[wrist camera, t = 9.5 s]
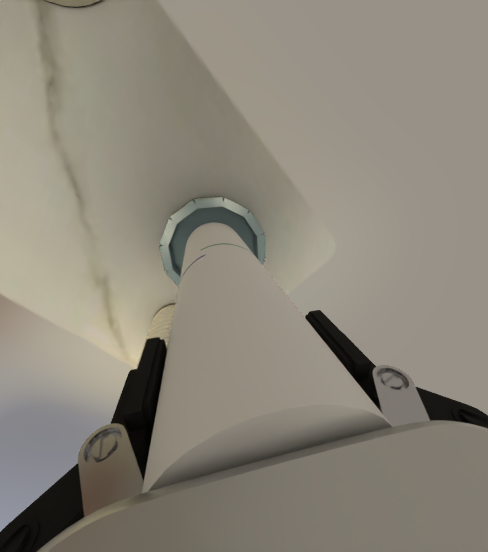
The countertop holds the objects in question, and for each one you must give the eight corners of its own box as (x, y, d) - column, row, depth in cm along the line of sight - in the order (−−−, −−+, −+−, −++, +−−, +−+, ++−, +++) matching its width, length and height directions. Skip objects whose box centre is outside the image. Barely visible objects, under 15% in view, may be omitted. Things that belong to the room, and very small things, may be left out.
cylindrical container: (173, 247, 28) (62, 541, 5) (218, 209, 27) (331, 347, 4) (211, 287, 31) (253, 587, 8) (253, 253, 30) (430, 475, 7)
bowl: (154, 201, 28) (150, 203, 25) (257, 193, 30) (263, 194, 27) (174, 295, 33) (172, 305, 30) (261, 283, 35) (266, 291, 32)
